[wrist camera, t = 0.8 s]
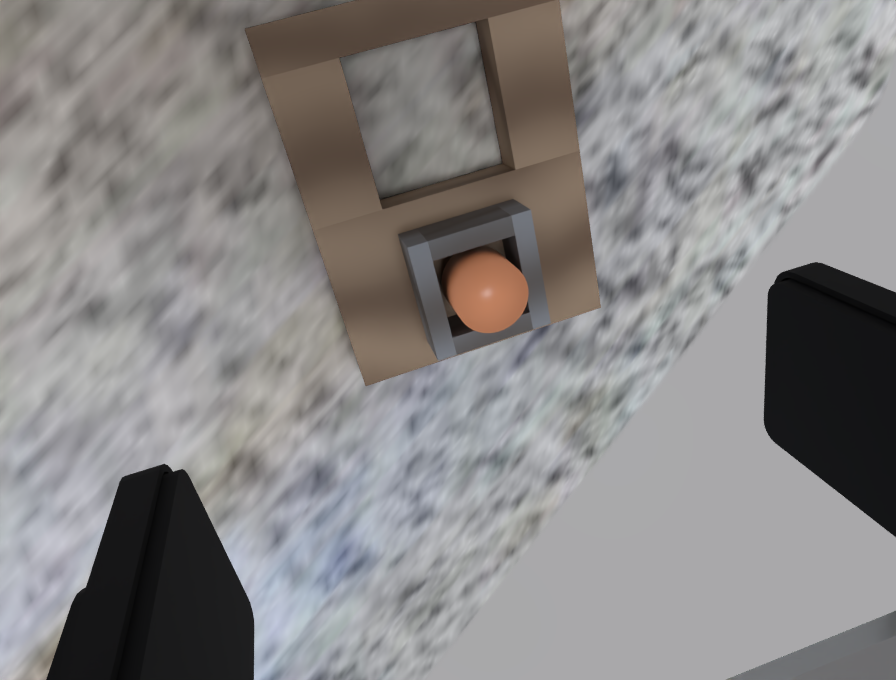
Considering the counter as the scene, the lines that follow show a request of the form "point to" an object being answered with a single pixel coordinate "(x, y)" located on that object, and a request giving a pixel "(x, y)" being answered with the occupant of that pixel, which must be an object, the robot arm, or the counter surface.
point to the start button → (484, 289)
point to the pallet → (442, 204)
